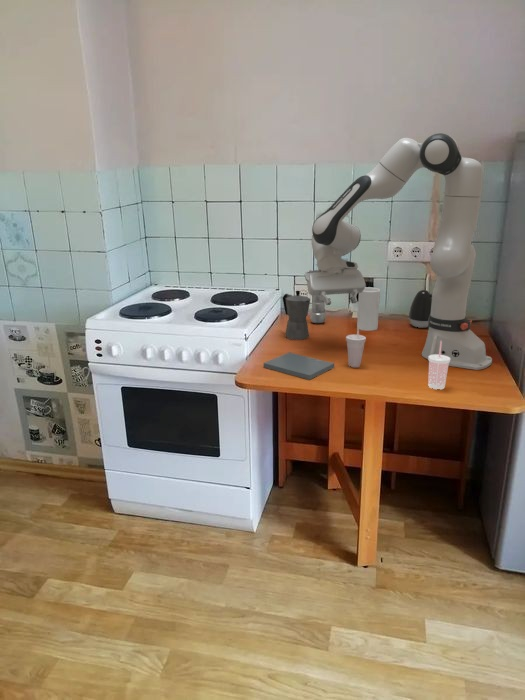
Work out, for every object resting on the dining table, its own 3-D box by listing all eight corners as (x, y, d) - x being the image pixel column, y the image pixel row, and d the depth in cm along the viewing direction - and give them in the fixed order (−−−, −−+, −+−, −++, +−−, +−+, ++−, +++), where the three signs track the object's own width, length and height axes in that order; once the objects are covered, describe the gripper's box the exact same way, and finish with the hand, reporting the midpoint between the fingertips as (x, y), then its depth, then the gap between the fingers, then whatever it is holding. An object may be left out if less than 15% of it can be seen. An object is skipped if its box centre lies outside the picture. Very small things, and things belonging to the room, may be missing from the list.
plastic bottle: (327, 321, 228) (329, 274, 222) (322, 325, 222) (324, 277, 216) (313, 320, 231) (314, 273, 225) (307, 324, 225) (308, 276, 219)
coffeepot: (317, 338, 205) (319, 292, 199) (298, 342, 200) (299, 295, 194) (292, 329, 217) (292, 285, 211) (273, 333, 211) (273, 288, 206)
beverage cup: (448, 384, 160) (453, 339, 155) (446, 391, 154) (451, 345, 150) (426, 381, 162) (431, 337, 158) (424, 388, 157) (428, 342, 152)
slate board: (334, 367, 174) (334, 363, 173) (309, 379, 163) (309, 375, 163) (289, 356, 185) (289, 352, 184) (263, 367, 174) (263, 362, 174)
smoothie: (365, 368, 173) (368, 326, 168) (345, 368, 173) (347, 326, 168) (362, 362, 179) (365, 321, 174) (343, 362, 179) (345, 321, 175)
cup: (379, 330, 215) (381, 291, 210) (358, 330, 215) (360, 291, 210) (375, 325, 223) (377, 287, 218) (355, 325, 223) (357, 287, 218)
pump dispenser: (433, 330, 215) (437, 293, 210) (407, 328, 218) (410, 291, 213) (434, 324, 224) (438, 288, 219) (408, 322, 227) (411, 286, 222)
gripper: (305, 265, 182) (315, 300, 176) (361, 263, 187) (372, 296, 181) (301, 276, 188) (310, 310, 182) (355, 273, 193) (365, 306, 187)
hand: (341, 303), depth 182 cm, fingers open, 8 cm apart
